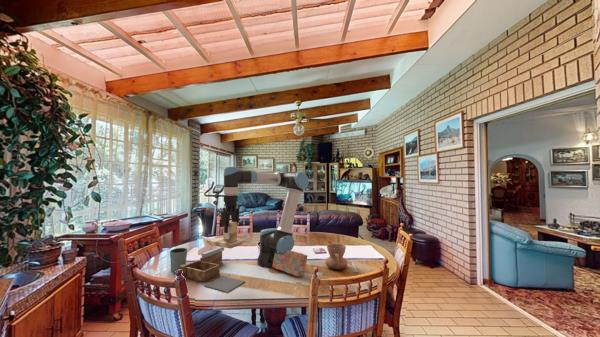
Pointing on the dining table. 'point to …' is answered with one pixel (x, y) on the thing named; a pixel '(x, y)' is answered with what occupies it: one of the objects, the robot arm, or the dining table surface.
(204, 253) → the light grey bar
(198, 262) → the brown wooden open box
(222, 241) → the lid
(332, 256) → the ceramic jug
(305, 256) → the brown patterned box
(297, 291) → the dining table surface
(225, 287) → the mat
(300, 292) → the dining table surface
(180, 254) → the grey cup
